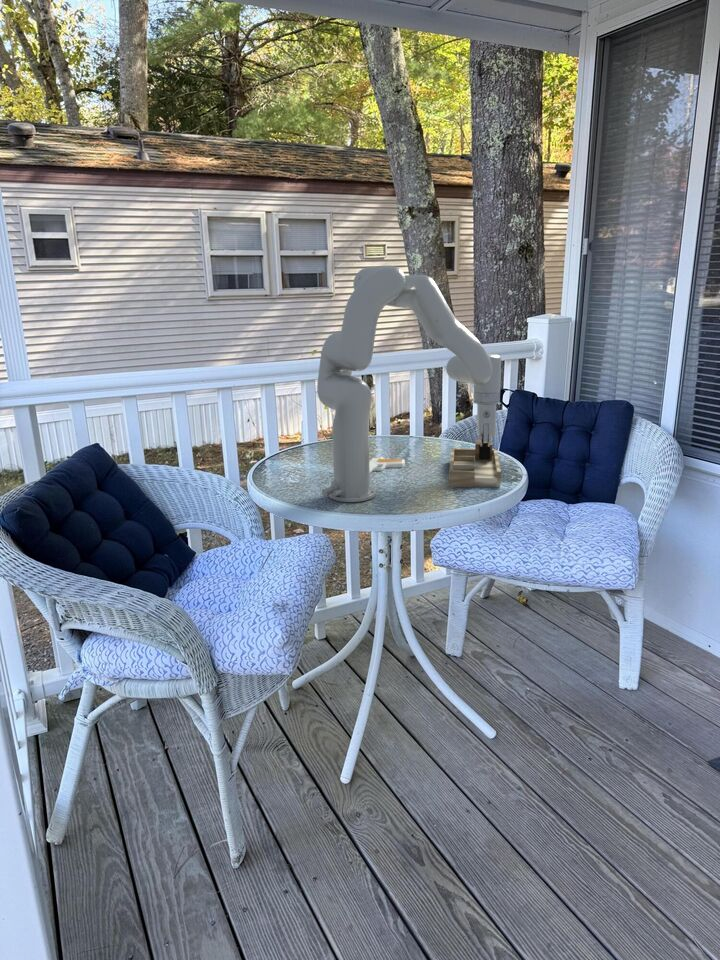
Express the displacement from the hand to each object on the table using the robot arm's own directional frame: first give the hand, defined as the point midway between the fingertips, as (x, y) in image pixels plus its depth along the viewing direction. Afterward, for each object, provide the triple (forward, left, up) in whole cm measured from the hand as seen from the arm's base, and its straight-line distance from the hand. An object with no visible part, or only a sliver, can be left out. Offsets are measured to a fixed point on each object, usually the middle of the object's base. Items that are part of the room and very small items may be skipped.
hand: (484, 458), depth 189 cm
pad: (+4, +3, -4) cm, 7 cm away
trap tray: (-5, +1, -4) cm, 6 cm away
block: (+4, +3, -1) cm, 5 cm away
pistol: (-18, +25, -5) cm, 31 cm away
